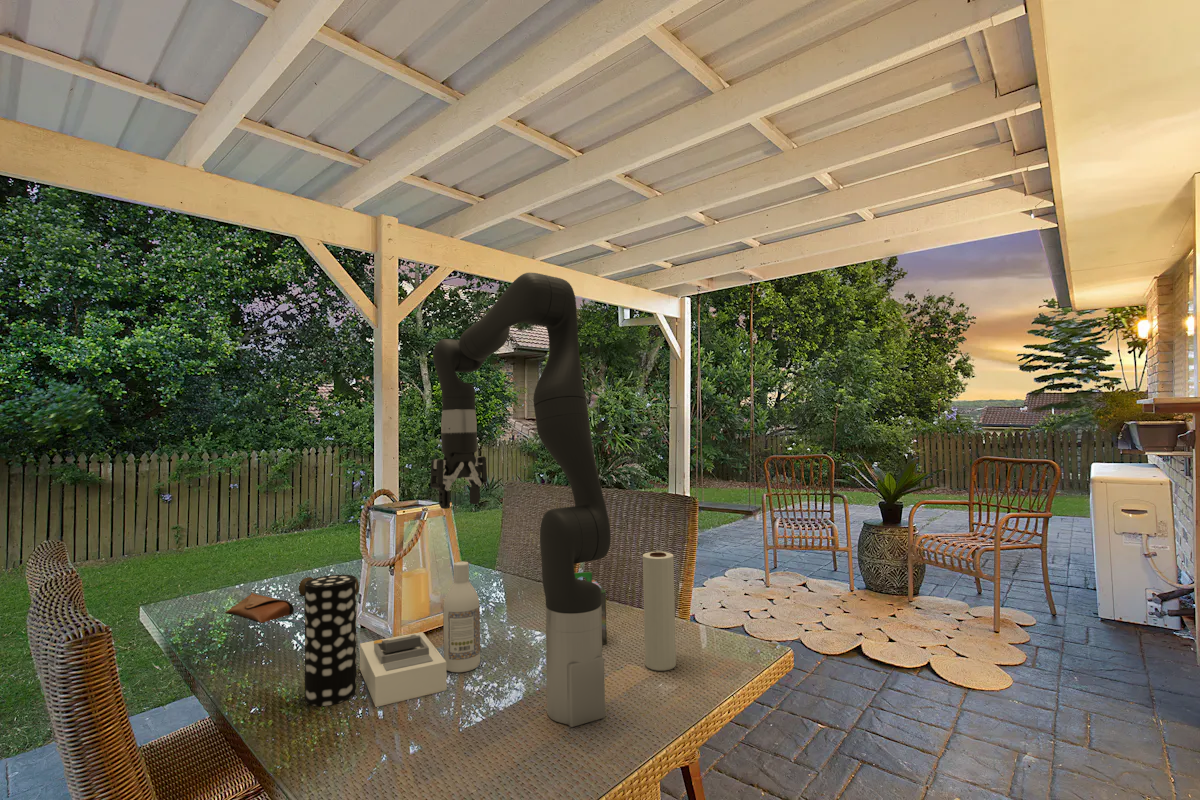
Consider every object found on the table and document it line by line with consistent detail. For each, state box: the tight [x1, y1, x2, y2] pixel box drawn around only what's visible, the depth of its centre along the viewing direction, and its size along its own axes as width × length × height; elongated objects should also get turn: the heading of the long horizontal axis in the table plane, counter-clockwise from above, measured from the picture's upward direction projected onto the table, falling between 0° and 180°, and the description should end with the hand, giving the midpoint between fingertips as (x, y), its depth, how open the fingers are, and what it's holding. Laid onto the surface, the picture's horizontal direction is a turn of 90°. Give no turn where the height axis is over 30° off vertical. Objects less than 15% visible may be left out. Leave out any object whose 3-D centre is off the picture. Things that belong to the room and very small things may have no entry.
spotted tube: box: [304, 574, 357, 707], centre depth 106 cm, size 8×8×20 cm
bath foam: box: [442, 561, 481, 673], centre depth 118 cm, size 7×7×20 cm
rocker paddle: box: [382, 635, 421, 653], centre depth 112 cm, size 5×6×2 cm
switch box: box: [359, 631, 448, 708], centre depth 112 cm, size 18×12×6 cm, turn 30°
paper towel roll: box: [642, 549, 677, 672], centre depth 117 cm, size 7×6×21 cm
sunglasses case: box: [224, 592, 295, 624], centre depth 154 cm, size 18×7×7 cm
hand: (460, 506), depth 130 cm, fingers open, 8 cm apart
